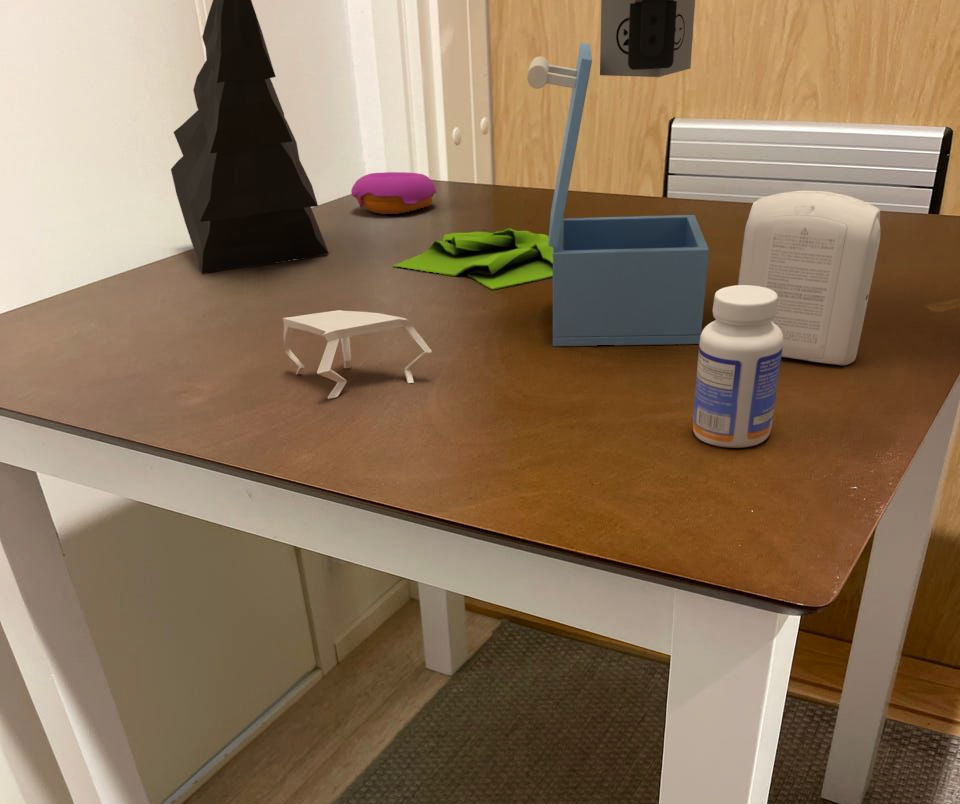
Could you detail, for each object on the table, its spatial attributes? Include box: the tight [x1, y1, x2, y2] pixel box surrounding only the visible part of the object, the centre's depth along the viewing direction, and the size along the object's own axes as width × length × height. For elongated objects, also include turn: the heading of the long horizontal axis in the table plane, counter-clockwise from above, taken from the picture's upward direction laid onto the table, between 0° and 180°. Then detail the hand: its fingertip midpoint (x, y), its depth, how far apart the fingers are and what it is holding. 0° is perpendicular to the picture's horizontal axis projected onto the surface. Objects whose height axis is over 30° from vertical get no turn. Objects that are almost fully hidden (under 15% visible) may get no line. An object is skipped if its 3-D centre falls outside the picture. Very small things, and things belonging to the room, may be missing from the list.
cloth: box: [392, 227, 553, 291], centre depth 106 cm, size 20×22×2 cm
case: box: [552, 214, 710, 347], centre depth 86 cm, size 13×12×8 cm
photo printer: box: [737, 190, 882, 367], centre depth 76 cm, size 10×4×12 cm, turn 60°
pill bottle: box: [692, 284, 783, 449], centre depth 65 cm, size 5×5×10 cm
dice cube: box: [599, 0, 696, 78], centre depth 72 cm, size 5×5×5 cm
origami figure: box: [282, 309, 433, 400], centre depth 78 cm, size 12×8×5 cm
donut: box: [350, 171, 437, 215], centre depth 127 cm, size 10×10×5 cm
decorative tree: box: [170, 0, 330, 275], centre depth 99 cm, size 15×15×35 cm
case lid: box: [526, 42, 593, 248], centre depth 80 cm, size 13×12×5 cm
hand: (646, 60), depth 73 cm, fingers closed on dice cube, 7 cm apart
